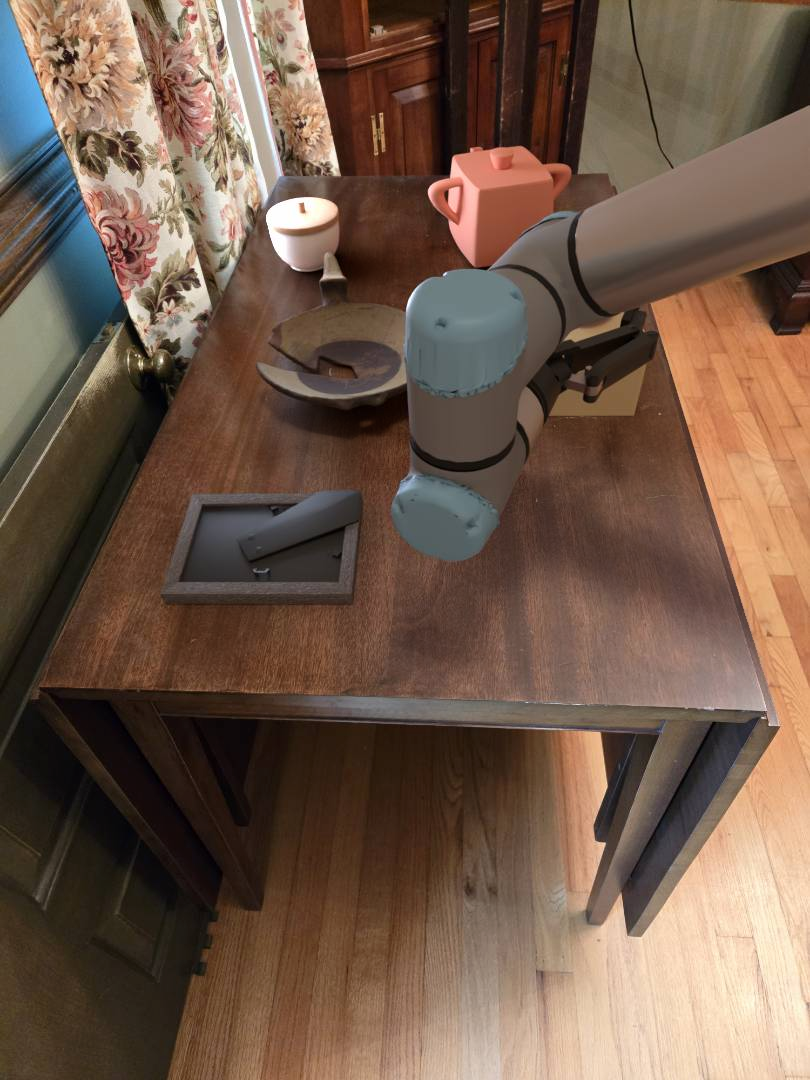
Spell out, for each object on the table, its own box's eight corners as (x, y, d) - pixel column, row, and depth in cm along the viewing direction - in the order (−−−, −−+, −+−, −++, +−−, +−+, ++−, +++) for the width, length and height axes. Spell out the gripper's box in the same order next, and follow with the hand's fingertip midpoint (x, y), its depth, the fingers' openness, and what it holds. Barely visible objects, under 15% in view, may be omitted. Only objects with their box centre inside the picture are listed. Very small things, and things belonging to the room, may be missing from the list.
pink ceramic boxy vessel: (581, 256, 110) (595, 159, 100) (442, 278, 108) (441, 181, 97) (536, 202, 123) (544, 112, 113) (410, 221, 121) (407, 130, 110)
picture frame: (363, 503, 77) (196, 504, 78) (361, 489, 75) (191, 491, 76) (352, 604, 68) (164, 604, 69) (350, 591, 66) (158, 591, 67)
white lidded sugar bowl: (301, 287, 108) (291, 224, 101) (261, 262, 113) (249, 201, 106) (357, 261, 112) (352, 200, 105) (316, 239, 118) (308, 179, 111)
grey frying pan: (237, 432, 86) (222, 378, 80) (305, 300, 105) (296, 249, 99) (424, 448, 82) (422, 393, 77) (457, 308, 102) (458, 256, 96)
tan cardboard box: (615, 339, 95) (630, 263, 87) (634, 416, 85) (653, 337, 77) (511, 340, 96) (517, 264, 88) (517, 416, 85) (524, 338, 78)
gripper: (372, 411, 68) (455, 299, 80) (643, 478, 60) (687, 342, 73) (365, 341, 62) (455, 232, 75) (663, 405, 54) (707, 272, 67)
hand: (570, 286), depth 74 cm, fingers open, 13 cm apart
